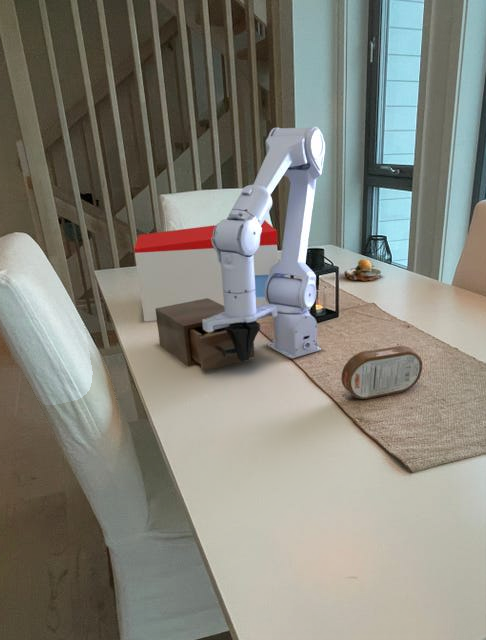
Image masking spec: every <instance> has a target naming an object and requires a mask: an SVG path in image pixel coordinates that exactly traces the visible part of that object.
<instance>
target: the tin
mask: <svg viewBox="0 0 486 640" xmlns="http://www.w3.org/2000/svg"><path fill="white" fill-rule="evenodd" d="M422 371H423V360H422V358H421V357H420V355H419V354H418V353H416V351H414V350H413V348H411V347H409V346H407V345H397V346H389V347H383V348H378V349H369V350H365V351H360V352H358V353H356V354H354V355H353V356H352V357H350V358H349V359H348V360H347V361H346V363H345V364H344V366H343V368H342V372H341V377H340V379H341V384H342V386H343V388H344V389H345V390H346V391H347V392H348V393H349V394H350V395H352V396H353V397H354V398H356V399H360V400H368V399H372V398H378V397H385V396H390V395H394V394H401V393H404V392H406V391H409V390H410V389H411V388H413V387H414V386H415V385H416V384H417V383H418V381H419V380H420V378H421V375H422Z"/></svg>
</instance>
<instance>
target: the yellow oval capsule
mask: <svg viewBox="0 0 486 640" xmlns="http://www.w3.org/2000/svg"><path fill="white" fill-rule="evenodd" d="M217 332H218V331H217V330H216V329H215V330H213V332H209V333H208V332H206V331H205V332H204V334H203V336H204V335H209V334H213V333H217Z"/></svg>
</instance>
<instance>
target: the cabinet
mask: <svg viewBox="0 0 486 640" xmlns="http://www.w3.org/2000/svg"><path fill="white" fill-rule="evenodd" d="M155 310H156V318H157V321H156V324H157V325H156V326H157V331H158V332H157V333H158V340H159V346H161V347H162V348H163V349H165V350H166V351H167V352H169V354H171V355H172V356H174V357H175V358H176V359H178V360H179V361H180V362H181V363H183V364H184V365H186V366H187V367H191V366H194V365H197V364H199V363H198V362H197V361H195V360H194V359H192V358H191V356H190V347H189V338H188V329H190V328H194V327H199V326H203V324H202V319H206V318H210V317H212V316H215V315H217V314H220V313H222V312H225V308H224V306H223V305H221V304H219V303H217V302H215V301H213V300H211V299H209V298H206V299H201V300H196V301H191V302H186V303H181V304H176V305H171V306H165V307H160V308H156V309H155Z"/></svg>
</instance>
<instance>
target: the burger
mask: <svg viewBox="0 0 486 640" xmlns="http://www.w3.org/2000/svg"><path fill="white" fill-rule="evenodd" d="M367 258H368V256H367V257H366V258H362V259H360V260H359V261H358V263H357V266H356V267H354V268H349V269H346V270H345V271H344V273H343V274H344V279H346V280H348V279H350V280H351V281H357V280H358V281H359V280H361V281H362V282H365V281H366V282H367V281H368V280H369V281H376V280H378V279H380V278H381V277H382V276H381V273H382V272H381V270H379V269H377V268H374V267H375V265H373V264H372V263H371V262H370V260H368V259H367Z"/></svg>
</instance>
